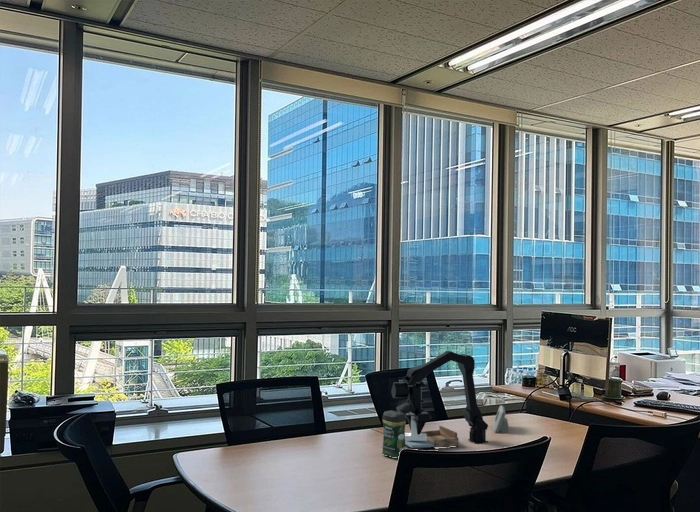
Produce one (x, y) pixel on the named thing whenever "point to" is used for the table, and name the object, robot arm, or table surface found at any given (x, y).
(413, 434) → the cable organizer
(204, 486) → the table surface
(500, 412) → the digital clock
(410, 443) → the panel
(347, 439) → the table surface
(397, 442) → the coffee jar
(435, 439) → the tray
